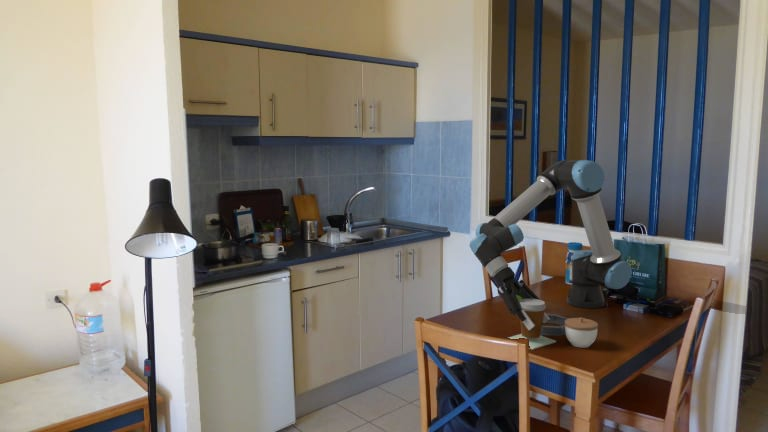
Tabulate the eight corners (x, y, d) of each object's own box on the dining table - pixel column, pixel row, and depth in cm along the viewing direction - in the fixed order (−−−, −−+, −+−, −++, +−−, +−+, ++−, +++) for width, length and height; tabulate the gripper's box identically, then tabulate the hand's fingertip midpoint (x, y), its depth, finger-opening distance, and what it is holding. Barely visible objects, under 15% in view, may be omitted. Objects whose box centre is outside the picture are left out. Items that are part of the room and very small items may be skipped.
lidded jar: (589, 338, 194) (590, 312, 193) (602, 349, 183) (603, 322, 182) (559, 339, 193) (560, 313, 192) (570, 350, 183) (571, 323, 182)
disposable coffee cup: (546, 341, 186) (547, 306, 185) (517, 339, 188) (518, 304, 187) (544, 331, 196) (545, 298, 194) (516, 330, 198) (517, 297, 196)
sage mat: (528, 332, 200) (528, 331, 200) (556, 342, 191) (556, 340, 191) (505, 339, 194) (505, 338, 194) (532, 349, 184) (532, 348, 184)
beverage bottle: (570, 280, 278) (572, 241, 276) (586, 283, 272) (587, 243, 269) (561, 283, 273) (562, 243, 270) (577, 286, 266) (578, 245, 264)
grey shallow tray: (545, 319, 216) (545, 311, 216) (581, 329, 203) (581, 321, 203) (517, 326, 207) (517, 319, 207) (552, 338, 194) (552, 330, 194)
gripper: (510, 273, 208) (548, 323, 199) (476, 283, 193) (515, 338, 184) (523, 261, 204) (562, 311, 195) (489, 271, 189) (529, 326, 179)
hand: (539, 324), depth 189 cm, fingers closed on disposable coffee cup, 9 cm apart
